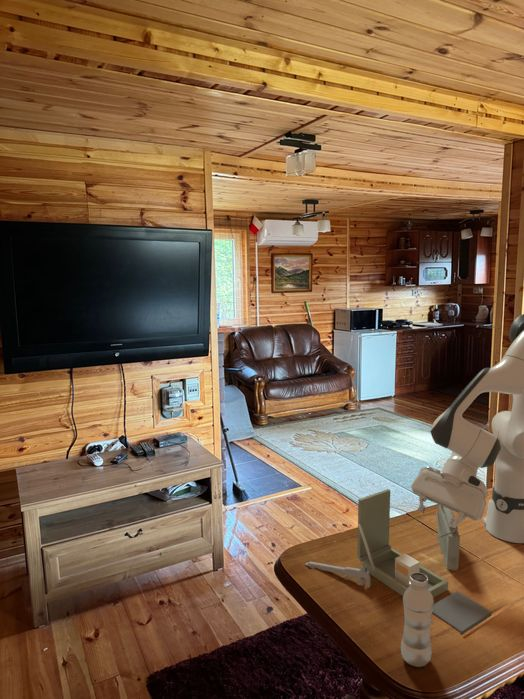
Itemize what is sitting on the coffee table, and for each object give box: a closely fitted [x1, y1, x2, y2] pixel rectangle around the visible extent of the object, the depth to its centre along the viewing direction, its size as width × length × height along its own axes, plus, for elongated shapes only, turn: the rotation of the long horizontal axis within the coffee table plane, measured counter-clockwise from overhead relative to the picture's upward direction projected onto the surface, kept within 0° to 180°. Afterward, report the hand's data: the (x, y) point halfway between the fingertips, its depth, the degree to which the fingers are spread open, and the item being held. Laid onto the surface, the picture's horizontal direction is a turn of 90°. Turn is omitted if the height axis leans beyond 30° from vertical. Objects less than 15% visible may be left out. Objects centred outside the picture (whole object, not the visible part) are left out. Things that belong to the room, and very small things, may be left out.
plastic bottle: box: [400, 572, 435, 668], centre depth 109 cm, size 6×7×20 cm
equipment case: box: [356, 488, 449, 599], centre depth 137 cm, size 13×22×21 cm, turn 33°
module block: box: [395, 553, 421, 588], centre depth 135 cm, size 4×5×7 cm
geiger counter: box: [435, 504, 461, 572], centre depth 153 cm, size 14×6×25 cm
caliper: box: [304, 561, 372, 589], centre depth 140 cm, size 20×1×6 cm, turn 54°
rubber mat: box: [432, 590, 493, 636], centre depth 125 cm, size 12×10×1 cm
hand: (435, 518), depth 139 cm, fingers open, 8 cm apart
